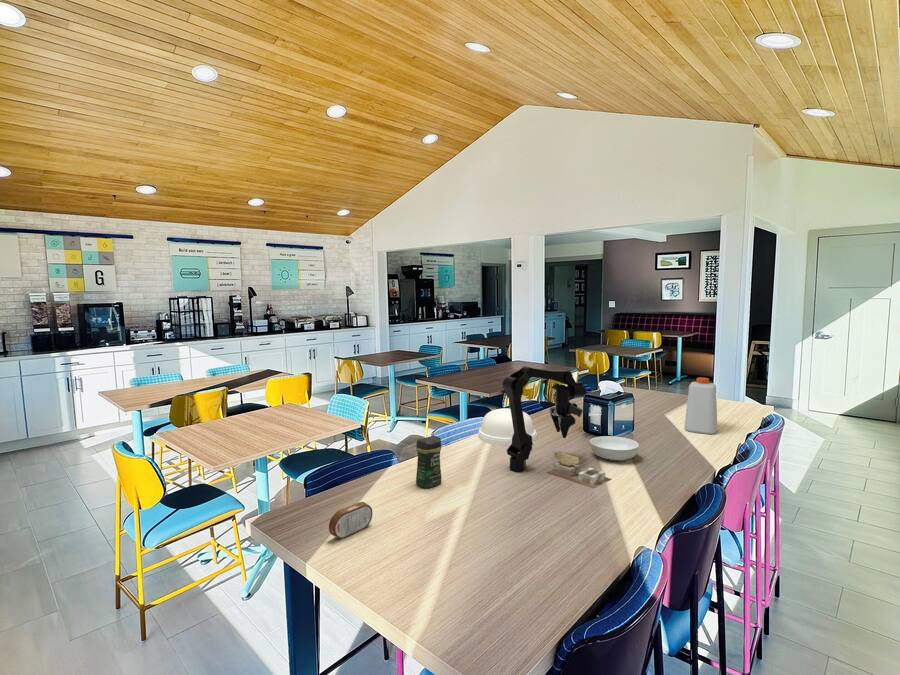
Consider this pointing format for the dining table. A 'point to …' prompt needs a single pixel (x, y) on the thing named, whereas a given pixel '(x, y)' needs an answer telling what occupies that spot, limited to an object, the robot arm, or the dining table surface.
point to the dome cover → (502, 427)
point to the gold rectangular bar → (566, 459)
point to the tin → (350, 520)
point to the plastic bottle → (701, 407)
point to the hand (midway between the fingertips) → (561, 435)
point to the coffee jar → (428, 462)
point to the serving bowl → (614, 447)
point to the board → (580, 475)
